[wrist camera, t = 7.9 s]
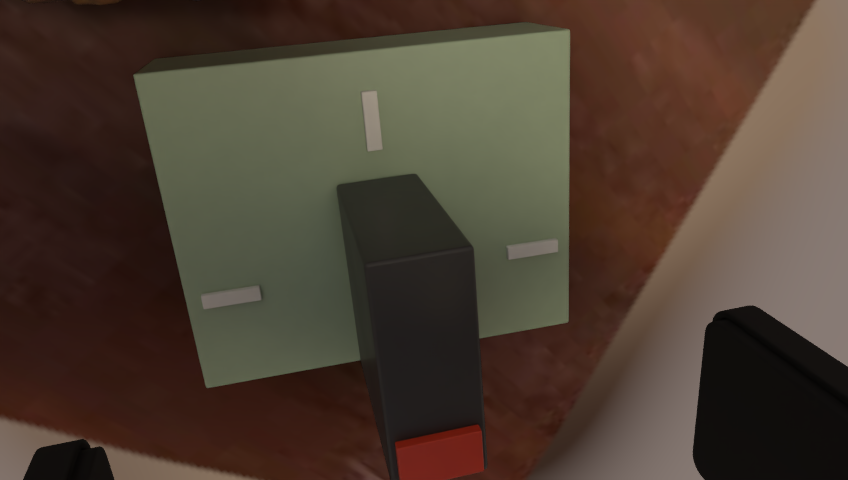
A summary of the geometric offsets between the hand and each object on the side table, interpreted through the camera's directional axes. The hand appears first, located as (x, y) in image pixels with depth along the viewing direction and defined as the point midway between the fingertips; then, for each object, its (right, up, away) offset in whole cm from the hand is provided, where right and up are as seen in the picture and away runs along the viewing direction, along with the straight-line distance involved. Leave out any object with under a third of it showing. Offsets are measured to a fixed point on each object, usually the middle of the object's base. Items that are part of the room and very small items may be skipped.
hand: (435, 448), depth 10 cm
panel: (-2, +4, +10) cm, 11 cm away
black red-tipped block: (-1, +2, +7) cm, 7 cm away
